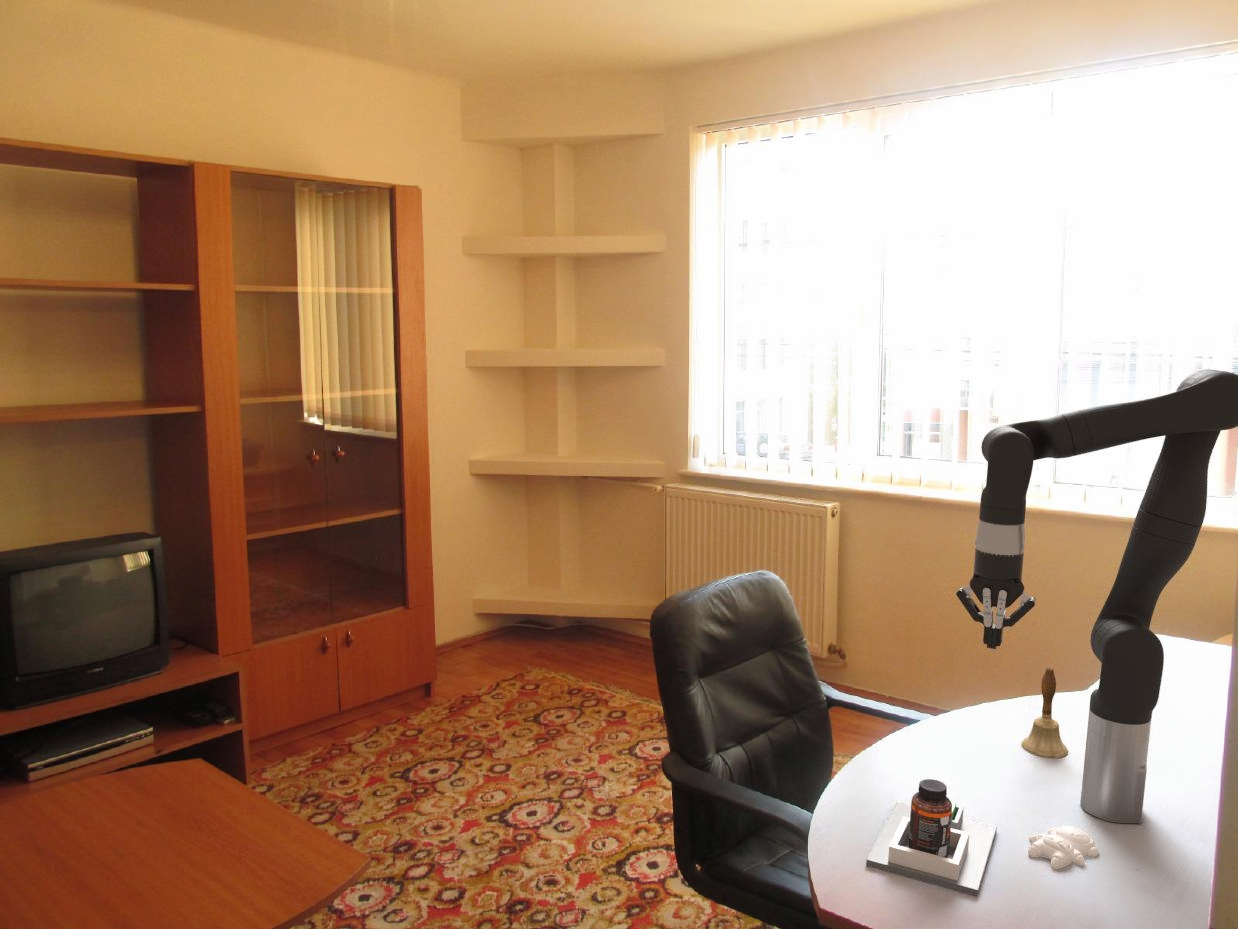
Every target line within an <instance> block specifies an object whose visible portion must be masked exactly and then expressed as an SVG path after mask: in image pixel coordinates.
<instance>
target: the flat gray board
mask: <svg viewBox="0 0 1238 929" xmlns="http://www.w3.org/2000/svg"><path fill="white" fill-rule="evenodd" d="M964 808H965V807H964V806H961V805H959V804H958V805H957V804H956V817H955V820H951V832H950V846H949V855H948V858H945V857H941V856H937V855H933V854H930V853H926V852H922V851H918V850H914V849H911V848H909V829H910V815H911V804H907V803H904V802H901V801H900V802H899V801H895V804H894V805H893V808H892V809H891V812H890V813H889V815H888V817H887V819H886V821H885V822H884V824H883V826H882V828H881V831H880V833H879V834H878V837H877V838H876V840H875V842H874V844H873V846H872V848H871V850H870V852H869V854H868V856H867V858H866V862H865V866H866V867H869V868H873V869H877V870H881V871H884V872H888V873H891V874H895V875H898V876H903V877H906V878H910V879H913V880H916V881H920V882H924V883H928V884H930V885H935V886H939V887H943V888H946V889H949V890H954V891H955V892H960V893H964V894H967V895H970V896H975V897H978V895H979V893H980V889H981V885H982V882H983V879H984V875H985V871H986V868H987V865H988V861H989V858H990V855H991V851H992V848H993V845H994V844H993V843H994V841H995V837H996V835H995V834H997V829H998V827H997V825H994V824H989V823H986V822H982V821H977V820H974V819H970V818H969V819H968V818H965V817H964Z"/></svg>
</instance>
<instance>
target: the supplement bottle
mask: <svg viewBox="0 0 1238 929" xmlns="http://www.w3.org/2000/svg"><path fill="white" fill-rule="evenodd" d="M918 783H919V784H918V792H915V793H914V794H913V796H912V798H911V803H910V805H911V815H910V829H909V848H911V849H914V850H918V851H922V852H926V853H930V854H933V855H937V856H941V857H945V858H948V855H949V846H950V832H951V818H952V803H951V801H952V800H951V801H950V798H949V797H948V796H947V795H948V793H947V791H948V790H947V788H948V787H947V785H946V783H944V782H943V781H940V780H937V779H932V778H931V779H930V778H925V779H922V780H920V781H919V782H918Z"/></svg>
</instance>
